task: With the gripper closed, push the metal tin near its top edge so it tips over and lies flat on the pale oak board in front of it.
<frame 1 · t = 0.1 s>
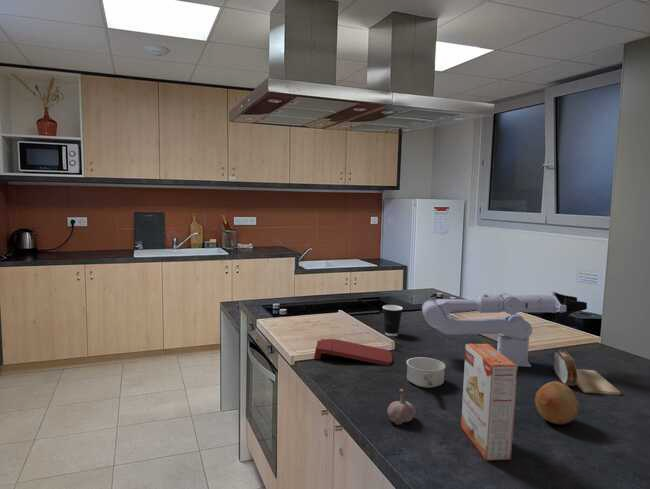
hand: (581, 303, 151), 22 cm above the worktop, fingers open, 7 cm apart
cracker box: (483, 444, 103), on the worktop
onion: (554, 422, 115), on the worktop
oak board: (589, 381, 141), on the worktop
dixie cup: (391, 334, 184), on the worktop
tin: (563, 380, 142), on the worktop
red flat block: (352, 358, 157), on the worktop
garlic bulb: (400, 420, 113), on the worktop
white ceramic ramekin: (426, 388, 133), on the worktop
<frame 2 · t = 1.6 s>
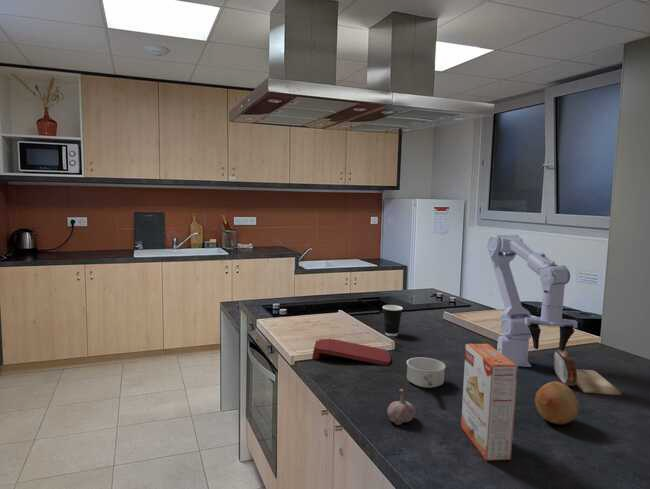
hand: (548, 349, 141), 9 cm above the worktop, fingers open, 7 cm apart
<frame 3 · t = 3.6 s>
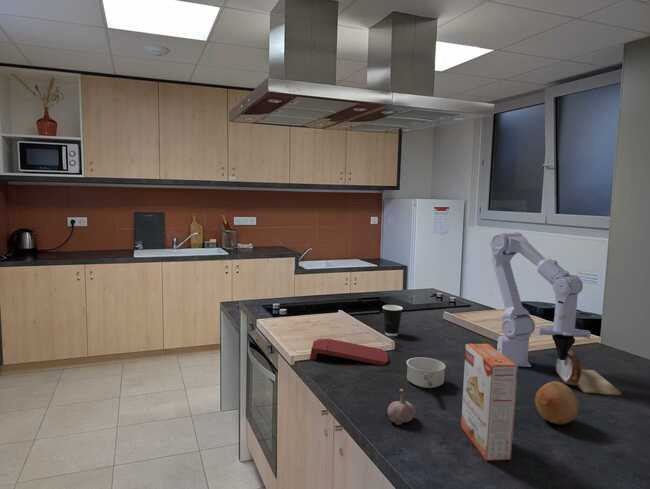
hand: (561, 359, 141), 7 cm above the worktop, fingers closed
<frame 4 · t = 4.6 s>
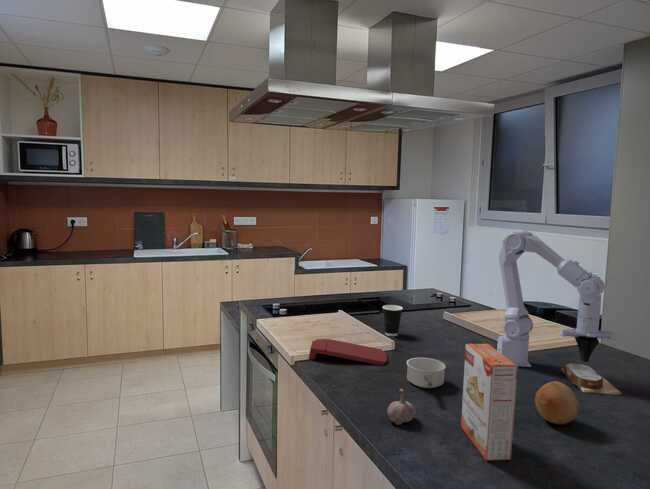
hand: (584, 360, 140), 7 cm above the worktop, fingers closed
tin: (567, 372, 141), point 2 cm above the worktop, touching oak board
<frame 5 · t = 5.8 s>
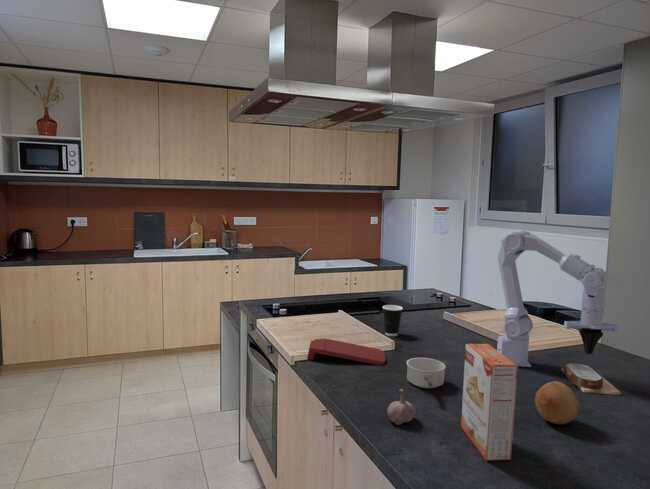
hand: (588, 353, 140), 9 cm above the worktop, fingers closed
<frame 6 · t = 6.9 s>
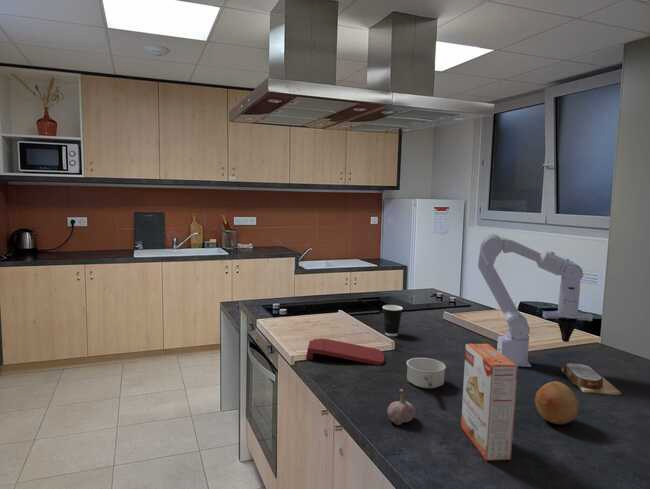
hand: (565, 340, 150), 9 cm above the worktop, fingers closed
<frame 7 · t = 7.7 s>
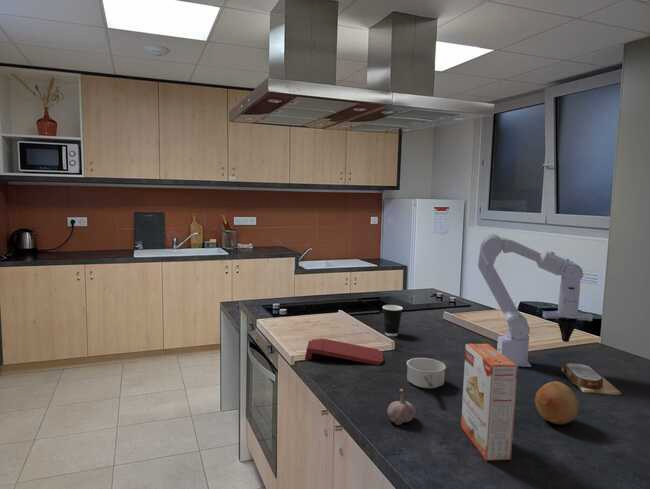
hand: (565, 340, 150), 9 cm above the worktop, fingers closed
at the end: tin tilted 94°; tin inside the target area (5.4 cm from its centre), point 2.4 cm above the worktop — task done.
